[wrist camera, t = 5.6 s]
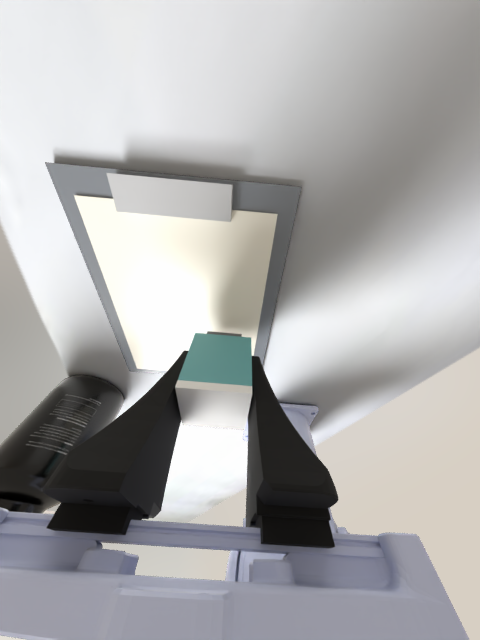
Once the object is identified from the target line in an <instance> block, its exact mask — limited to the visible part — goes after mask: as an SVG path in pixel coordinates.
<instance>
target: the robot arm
mask: <svg viewBox="0 0 480 640" xmlns="http://www.w3.org/2000/svg"><path fill="white" fill-rule="evenodd" d="M187 354H188V351H186V350H184V351H183V352H182V353H181V355H180V356H179V357H178V359H177V360H176V361H175V363H174V364H173V365H172V366H171V367H170V369H169V370H168V371H167V372H166V373H165V374H164V375H163V377H162V378H161V379H160V380H159V381H158V382H157V383H156V384H155V385H154V386H153V387H152V388H151V389H150V390H149V391H148V392H147V393H146V394H145V395H144V396H143V397H142V398H141V399H139V400H138V401H137V402H136V403H135V404H134V405H133V406H131V407H130V408H129V409H128V410H127V411H125V412H124V413H123V414H122V415H120V416H119V417H118V418H117V419H115V420H114V421H113V422H111V423H110V424H109V425H107V426H106V427H105V428H103V429H102V430H100V431H99V432H98V433H96V434H95V435H93V436H92V437H90V438H89V439H87V440H86V441H84V442H83V443H81V444H80V445H78V446H77V447H75V448H74V449H72V450H71V451H69V452H68V454H67V455H66V456H65V457H64V459H63V460H62V461H61V463H60V464H59V465H58V467H57V468H56V470H55V471H54V473H53V474H52V476H51V477H50V479H49V480H48V482H47V483H46V485H45V486H44V487H43V492H44V493H45V494H46V495H48V496H50V497H52V498H54V499H56V500H58V501H59V502H61V504H60V506H59V507H58V509H57V511H56V512H55V514H40V513H25V512H10V511H8V510H7V509H4V508H1V507H0V635H1V636H7V637H14V638H21V639H27V640H469V638H468V636H467V634H466V632H465V630H464V628H463V626H462V623H461V621H460V619H459V617H458V615H457V613H456V611H455V609H454V607H453V605H452V603H451V601H450V599H449V597H448V595H447V593H446V591H445V589H444V587H443V585H442V583H441V581H440V579H439V577H438V575H437V573H436V571H435V569H434V567H433V564H432V562H431V560H430V558H429V556H428V554H427V552H426V550H425V548H424V546H423V544H422V542H421V540H420V538H419V536H417V535H416V534H405V533H382V534H379V535H378V536H372V535H357V534H350V533H348V532H347V530H346V528H344V527H338V528H337V525H336V523H335V522H334V520H333V518H332V514H331V510H330V507H331V506H332V505H334V504H335V503H336V502H337V501H338V495H337V492H336V489H335V486H334V483H333V481H332V478H331V476H330V474H329V471H328V469H327V468H326V467H325V466H324V465H323V463H322V462H321V461H320V460H319V459H318V457H317V455H316V451H315V448H314V444H313V440H312V436H311V432H310V428H309V426H310V425H311V423H312V421H313V420H314V418H315V416H316V415H317V413H318V411H319V410H318V407H316V406H308V405H295V404H283V403H279V402H278V400H277V398H276V396H275V394H274V392H273V390H272V388H271V386H270V384H269V382H268V379H267V377H266V375H265V372H264V369H263V367H262V364H261V360H260V357H259V356H252V398H251V403H250V408H249V413H248V417H247V422H246V427H245V430H244V434H243V440H244V441H248V466H247V498H246V500H247V501H246V518H244V519H243V527H236V526H221V525H206V524H205V525H204V524H190V523H176V522H161V521H146V520H142V519H149V518H154V517H155V516H156V515H157V514H158V513H159V512H160V511H161V507H162V502H163V497H164V492H165V487H166V482H167V477H168V473H169V468H170V463H171V459H172V455H173V450H174V446H175V442H176V438H177V433H178V429H179V426H180V422H181V415H180V410H179V405H178V400H177V395H176V390H175V386H176V383H177V381H178V378H179V375H180V372H181V370H182V367H183V364H184V362H185V359H186V356H187ZM100 542H104V543H121V544H136V545H151V546H166V547H183V548H197V549H198V548H199V549H213V550H229V551H230V555H229V559H228V564H227V571H226V579H225V581H221V580H205V579H189V578H188V579H187V578H172V577H156V576H140V575H135V569H136V566H137V562H138V559H139V557H138V555H133V554H129V553H126V552H125V551H118V550H108V549H102V544H101V543H100Z"/></svg>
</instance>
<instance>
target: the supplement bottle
mask: <svg viewBox="0 0 480 640" xmlns="http://www.w3.org/2000/svg"><path fill="white" fill-rule="evenodd" d="M123 402H124V399H123V395H122V393H121V392H120V391H119V390H118V389H117V388H116V387H115V386H113V385H112V384H110V383H108V382H106V381H104V380H102V379H99V378H96V377H92V376H86V375H76V376H71V377H68V378H66V379H64V380H63V381H61V382H60V383H59V384H58V385H57V386H56V388H54V389H53V391H52V392H50V393H49V395H48V396H47V397H46V398H45V399H44V400H43V401H42V402H41V403H40V404H39V405H38V406H37V407H36V408H35V409H34V410H33V411H32V412H31V413H30V415H28V417H27V418H26V419H25V420H24V421H23V422H22V423H21V424H20V425H19V426H18V427H17V428H16V429H15V430H14V431H13V432H12V433H11V435H10V436H9V437H8V438H7V439H6V440H5V441H4V442H3V443H2V444H1V445H0V507H1V508H4V509H7V510H8V511H10V512H25V513H40V514H43V512H44V511H45V510H46V509H49V508H51V507H53V506H55V505H57V504H59V503H61V502H59V501H58V500H56V499H54V498H52V497H50V496H48V495H46V494H45V493H44V492H43V487H44V486H45V485H46V483H47V482H48V480H49V479H50V477H51V476H52V474H53V473H54V471H55V470H56V468H57V467H58V465H59V464H60V463H61V461H62V460H63V459H64V457H65V456H66V455H67V454H68V452H69V451H71V450H72V449H74V448H75V447H77V446H78V445H80V444H81V443H83V442H84V441H86V440H87V439H89V438H90V437H92V436H93V435H95V434H96V433H98V432H99V431H100V430H102V429H103V428H105V427H106V426H107V425H109V424H110V423H111V422H113V421H114V420H115V418H116V417H117V415H118V413H119V411H120V409H121V407H122V405H123Z"/></svg>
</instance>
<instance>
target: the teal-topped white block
mask: <svg viewBox="0 0 480 640" xmlns="http://www.w3.org/2000/svg"><path fill="white" fill-rule="evenodd" d="M175 390H176V395H177V400H178V405H179V410H180V415H181V420H182V425H187V426H200V427H213V428H226V429H238V430H245V427H246V422H247V417H248V413H249V408H250V403H251V398H252V350H251V338H250V337H242V334H235V333H224V332H212V331H207V334H204V333H195V335H194V337H193V340H192V343H191V345H190V348H189V351H188V354H187V356H186V359H185V362H184V364H183V367H182V370H181V372H180V375H179V378H178V381H177V383H176V386H175Z"/></svg>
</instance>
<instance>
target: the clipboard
mask: <svg viewBox="0 0 480 640" xmlns="http://www.w3.org/2000/svg"><path fill="white" fill-rule="evenodd" d="M45 164H46V166H47V169H48V171H49V174H50V176H51V179H52V181H53V184H54V186H55V189H56V191H57V194H58V196H59V199H60V201H61V203H62V206H63V208H64V211H65V213H66V216H67V218H68V221H69V223H70V226H71V228H72V231H73V233H74V236H75V238H76V240H77V243H78V245H79V248H80V250H81V253H82V255H83V258H84V260H85V263H86V265H87V268H88V270H89V273H90V275H91V277H92V280H93V282H94V285H95V287H96V290H97V292H98V295H99V297H100V300H101V302H102V305H103V307H104V309H105V312H106V314H107V317H108V319H109V322H110V324H111V327H112V329H113V332H114V334H115V337H116V339H117V342H118V344H119V346H120V349H121V351H122V354H123V356H124V359H125V361H126V364H127V366H128V369H129V371H134V372H146V373H159V374H165V373H166V372H167V371H168V370H169V369H170V367H171V366H172V365H173V364H174V363H175V361H176V360H177V359H178V357H179V356H180V355H181V353H182V352H183V351H184V350H186V351H189V348H190V345H191V343H192V340H193V337H194V335H195V333H204V334H207V331H212V332H224V333H235V334H242V337H250V338H251V350H252V356H259V357H260V360H261V364H262V366H263V361H264V357H265V352H266V347H267V343H268V338H269V334H270V329H271V325H272V320H273V315H274V311H275V306H276V302H277V297H278V293H279V288H280V283H281V279H282V274H283V270H284V265H285V260H286V256H287V251H288V247H289V242H290V238H291V233H292V228H293V224H294V219H295V215H296V210H297V206H298V201H299V196H300V192H301V187H299V186H288V185H278V184H267V183H257V182H246V181H236V180H225V179H215V178H204V177H194V176H183V175H173V174H162V173H152V172H141V171H131V170H120V169H110V168H99V167H89V166H78V165H68V164H57V163H47V162H45Z"/></svg>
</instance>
